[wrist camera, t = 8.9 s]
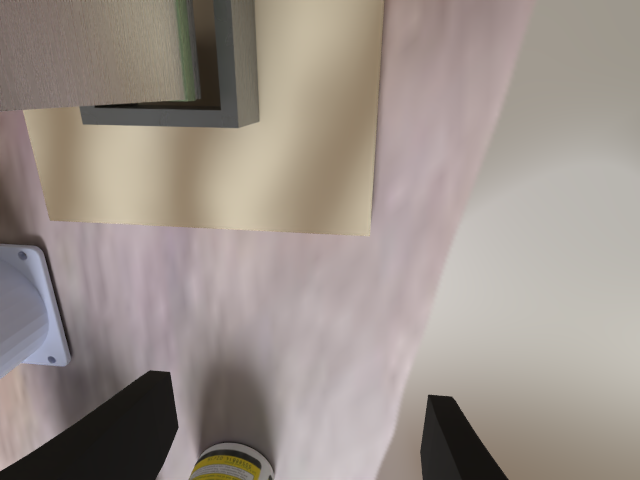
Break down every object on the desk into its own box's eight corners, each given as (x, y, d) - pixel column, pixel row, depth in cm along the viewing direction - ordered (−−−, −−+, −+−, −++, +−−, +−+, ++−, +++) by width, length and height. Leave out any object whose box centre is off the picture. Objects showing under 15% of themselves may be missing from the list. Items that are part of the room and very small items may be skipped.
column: (88, 98, 14) (-240, 110, 6) (62, -43, 12) (-408, -244, 5) (203, 100, 13) (-5, 114, 6) (190, -45, 12) (-109, -269, 4)
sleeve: (127, 118, 18) (82, 124, 15) (99, -60, 15) (39, -93, 12) (259, 121, 17) (238, 128, 14) (251, -64, 15) (224, -100, 12)
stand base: (70, 211, 21) (49, 220, 20) (-18, -179, 16) (-55, -206, 14) (369, 225, 20) (369, 236, 18) (395, -203, 14) (398, -236, 13)
